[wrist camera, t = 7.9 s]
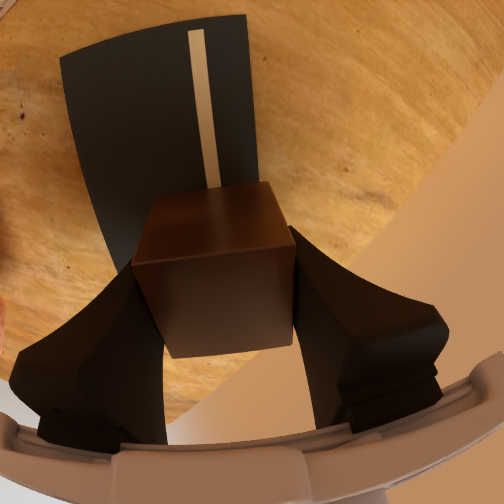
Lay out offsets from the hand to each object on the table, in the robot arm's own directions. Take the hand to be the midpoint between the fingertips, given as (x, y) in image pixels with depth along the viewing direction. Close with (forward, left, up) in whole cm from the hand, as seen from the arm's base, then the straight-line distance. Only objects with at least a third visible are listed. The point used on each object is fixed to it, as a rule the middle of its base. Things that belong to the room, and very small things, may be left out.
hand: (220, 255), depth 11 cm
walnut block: (0, 0, -1) cm, 1 cm away
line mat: (+4, -1, -3) cm, 5 cm away
